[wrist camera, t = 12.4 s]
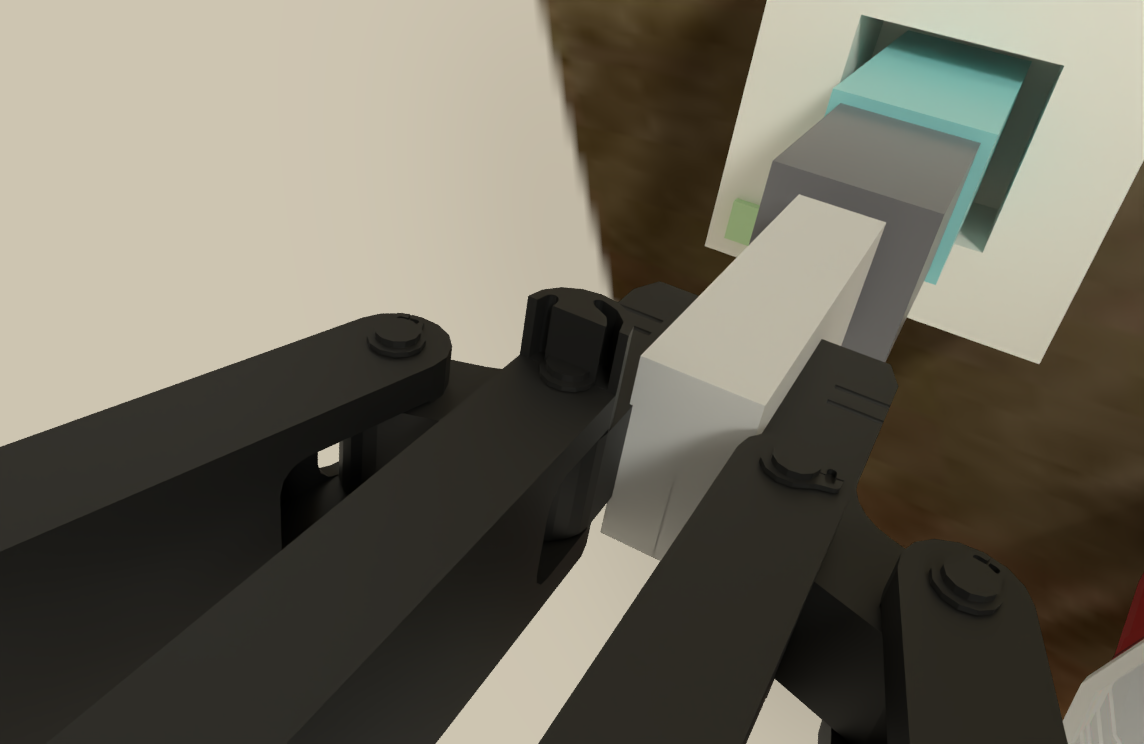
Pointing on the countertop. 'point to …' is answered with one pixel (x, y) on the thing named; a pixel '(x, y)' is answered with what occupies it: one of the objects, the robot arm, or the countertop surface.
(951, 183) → the plug
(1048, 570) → the countertop surface
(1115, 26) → the port
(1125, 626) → the plastic cup
